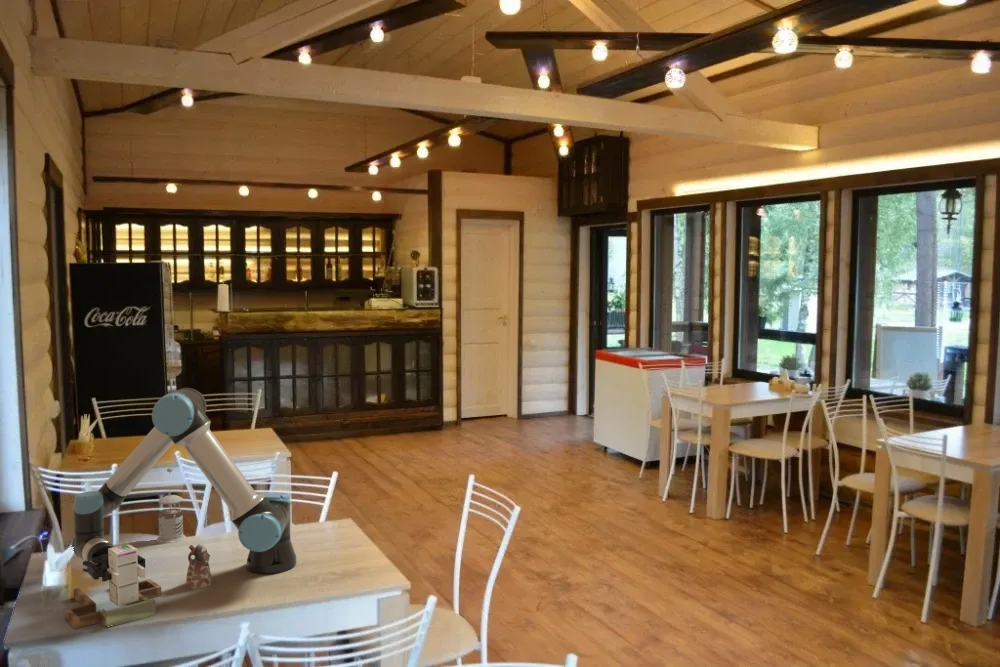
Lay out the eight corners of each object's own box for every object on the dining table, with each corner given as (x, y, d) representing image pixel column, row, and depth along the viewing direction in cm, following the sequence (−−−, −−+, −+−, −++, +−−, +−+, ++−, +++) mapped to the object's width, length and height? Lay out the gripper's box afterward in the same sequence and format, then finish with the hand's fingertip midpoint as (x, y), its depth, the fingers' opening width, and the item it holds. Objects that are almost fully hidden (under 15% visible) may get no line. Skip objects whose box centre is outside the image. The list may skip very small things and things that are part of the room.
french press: (151, 543, 273) (149, 471, 271) (163, 532, 284) (162, 463, 283) (180, 543, 273) (179, 471, 272) (191, 532, 285) (190, 463, 283)
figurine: (206, 589, 233) (205, 548, 232) (182, 588, 233) (181, 548, 232) (215, 580, 240) (214, 540, 239) (192, 579, 240) (191, 540, 239)
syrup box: (139, 600, 214) (138, 547, 213) (116, 606, 210) (116, 552, 209) (130, 594, 218) (130, 542, 217) (108, 600, 214) (107, 547, 213)
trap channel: (49, 603, 221) (49, 589, 221) (141, 580, 239) (141, 567, 238) (81, 635, 202) (80, 619, 202) (178, 607, 219) (178, 593, 219)
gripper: (135, 559, 233) (167, 581, 217) (64, 576, 220) (92, 600, 204) (134, 534, 233) (166, 554, 216) (64, 549, 220) (92, 571, 203)
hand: (130, 576), depth 210 cm, fingers closed on syrup box, 6 cm apart
